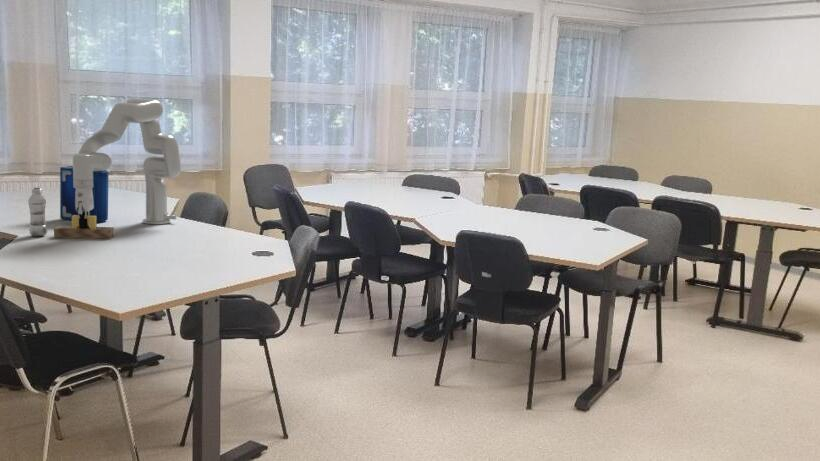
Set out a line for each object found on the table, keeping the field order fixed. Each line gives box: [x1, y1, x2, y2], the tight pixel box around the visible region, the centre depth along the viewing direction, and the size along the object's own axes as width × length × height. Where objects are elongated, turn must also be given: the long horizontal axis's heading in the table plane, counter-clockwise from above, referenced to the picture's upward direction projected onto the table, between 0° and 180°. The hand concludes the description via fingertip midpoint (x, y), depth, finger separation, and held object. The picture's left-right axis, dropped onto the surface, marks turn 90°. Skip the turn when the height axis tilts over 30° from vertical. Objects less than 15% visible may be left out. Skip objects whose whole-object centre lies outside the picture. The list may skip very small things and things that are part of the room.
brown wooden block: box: [53, 225, 115, 240], centre depth 301 cm, size 22×6×4 cm, turn 99°
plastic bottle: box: [27, 187, 48, 237], centre depth 297 cm, size 6×7×20 cm
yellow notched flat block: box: [71, 215, 98, 229], centre depth 301 cm, size 9×2×8 cm, turn 99°
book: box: [59, 165, 110, 223], centre depth 336 cm, size 22×7×25 cm, turn 84°
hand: (84, 227), depth 301 cm, fingers closed on yellow notched flat block, 2 cm apart
